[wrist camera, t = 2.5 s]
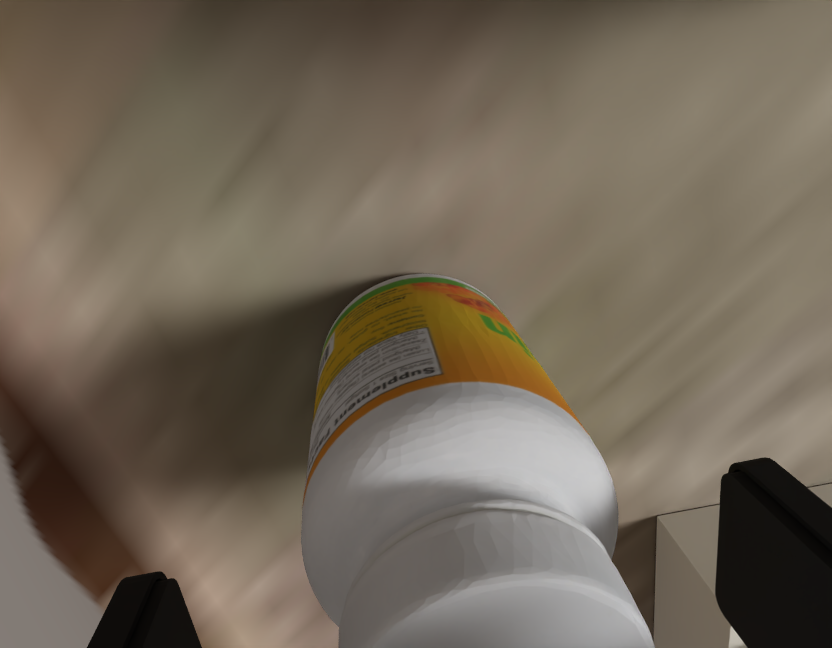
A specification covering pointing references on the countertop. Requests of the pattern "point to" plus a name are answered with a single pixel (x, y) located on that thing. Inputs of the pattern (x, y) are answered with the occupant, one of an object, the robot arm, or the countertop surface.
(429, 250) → the countertop surface
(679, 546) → the block
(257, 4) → the countertop surface
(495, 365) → the supplement bottle
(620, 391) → the countertop surface
